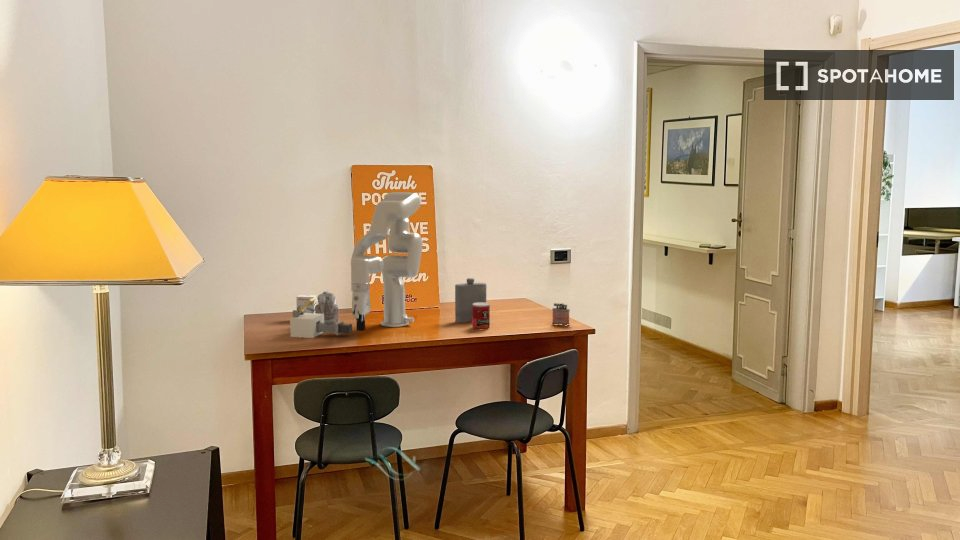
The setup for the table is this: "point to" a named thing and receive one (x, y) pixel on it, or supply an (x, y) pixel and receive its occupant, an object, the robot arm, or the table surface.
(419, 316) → the table surface
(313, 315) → the block
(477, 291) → the flask
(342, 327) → the pin
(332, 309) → the figurine
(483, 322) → the canned food
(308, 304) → the lever
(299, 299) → the ink box
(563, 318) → the lighter
